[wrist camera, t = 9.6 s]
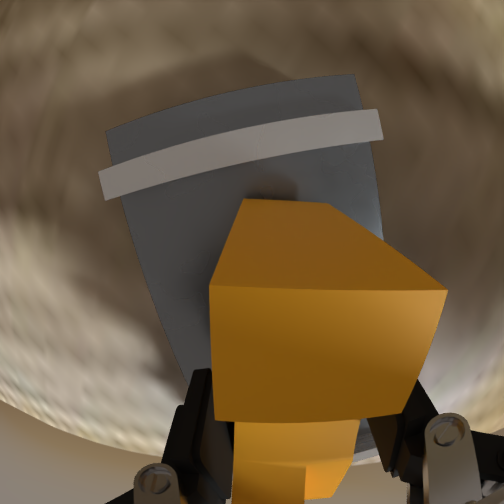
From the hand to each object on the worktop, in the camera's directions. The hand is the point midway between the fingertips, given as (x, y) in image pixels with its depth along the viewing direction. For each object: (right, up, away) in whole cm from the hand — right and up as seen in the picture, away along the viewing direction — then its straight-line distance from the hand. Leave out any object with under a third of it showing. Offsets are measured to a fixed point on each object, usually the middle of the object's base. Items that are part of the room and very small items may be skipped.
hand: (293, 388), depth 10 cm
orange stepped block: (0, +1, +1) cm, 2 cm away
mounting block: (0, +2, +7) cm, 7 cm away
